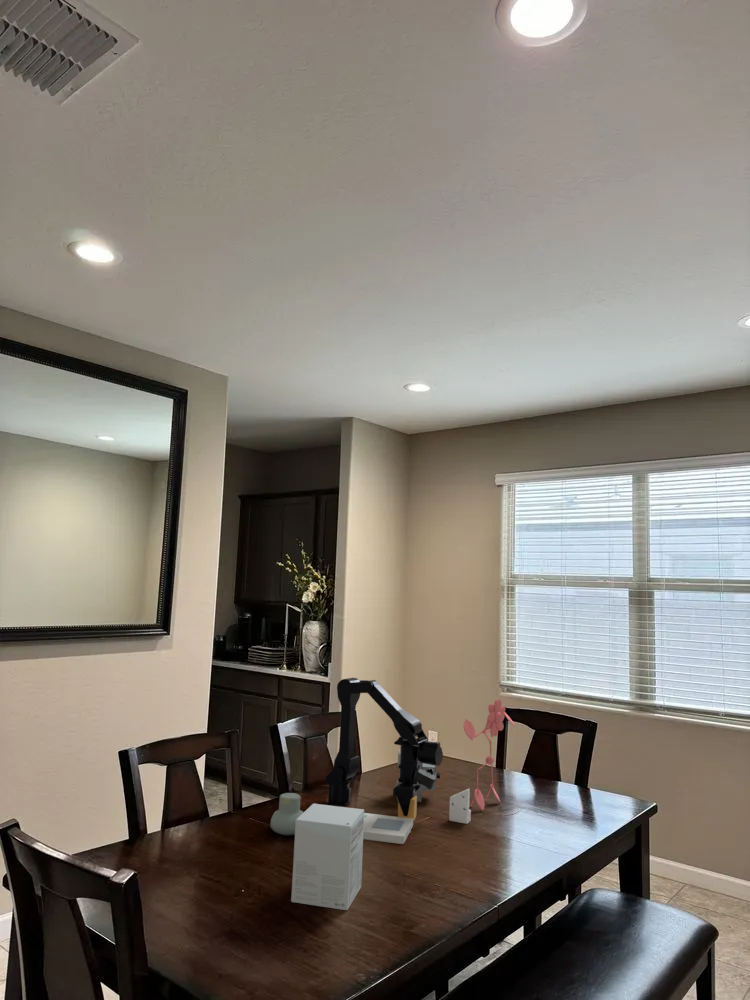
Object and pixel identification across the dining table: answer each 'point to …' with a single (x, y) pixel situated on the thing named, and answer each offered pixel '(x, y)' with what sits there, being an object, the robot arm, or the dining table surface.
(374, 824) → the breaker panel
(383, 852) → the dining table surface
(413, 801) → the cap
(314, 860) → the supplement box
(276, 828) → the air freshener
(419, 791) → the circuit breaker
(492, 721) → the figurine
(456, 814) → the white wedge bracket
